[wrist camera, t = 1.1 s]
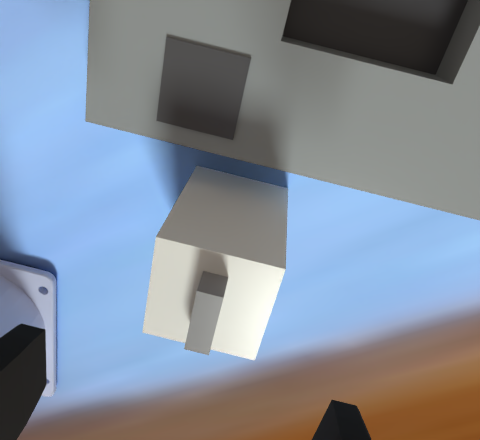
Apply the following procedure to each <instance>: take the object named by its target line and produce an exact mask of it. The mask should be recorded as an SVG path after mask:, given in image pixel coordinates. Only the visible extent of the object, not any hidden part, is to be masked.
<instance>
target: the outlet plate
mask: <svg viewBox="0 0 480 440" xmlns="http://www.w3.org/2000/svg"><path fill="white" fill-rule="evenodd" d="M86 121H87V122H91V123H95V124H98V125H102V126H106V127H110V128H114V129H118V130H122V131H126V132H130V133H134V134H138V135H142V136H146V137H150V138H154V139H158V140H162V141H166V142H170V143H174V144H178V145H182V146H186V147H190V148H194V149H198V150H202V151H206V152H210V153H214V154H218V155H222V156H226V157H230V158H234V159H238V160H242V161H246V162H250V163H254V164H258V165H262V166H266V167H270V168H274V169H278V170H282V171H286V172H290V173H293V174H297V175H301V176H305V177H309V178H313V179H317V180H321V181H325V182H329V183H333V184H337V185H341V186H345V187H349V188H353V189H357V190H361V191H365V192H369V193H373V194H377V195H381V196H385V197H389V198H393V199H397V200H401V201H405V202H409V203H413V204H417V205H421V206H425V207H429V208H433V209H437V210H441V211H445V212H449V213H453V214H457V215H461V216H465V217H469V218H473V219H477V220H480V0H90V7H89V36H88V64H87V93H86Z"/></svg>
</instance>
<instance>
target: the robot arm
mask: <svg viewBox="0 0 480 440" xmlns="http://www.w3.org/2000/svg"><path fill="white" fill-rule="evenodd" d="M44 287H45V288H47V289H48V290H47V289H45V288H44ZM55 391H56V278H55V277H54V275H53V274H51V273H50V272H47V271H44V270H40V269H36V268H32V267H28V266H24V265H20V264H16V263H12V262H8V261H4V260H0V440H17V438H18V437H19V435H20V433H21V432H22V430H23V429H24V427H25V426H26V424H27V422H28V420H29V418H30V416H31V414H32V412H33V411H34V409H35V407H36V405H37V403H38V401H39V399H40V397H41V396H45V397H50V396H52V395H53V394H54V393H55ZM312 440H371V437H370V435H369V433H368V430H367V428H366V426H365V423H364V421H363V419H362V416H361V414H360V412H359V409H358V408H357V406H355V405H351V404H347V403H343V402H339V401H335V400H332V401H331V403H330V405H329V407H328V409H327V411H326V413H325V415H324V417H323V419H322V421H321V423H320V425H319V427H318V429H317V431H316V433H315V435H314V437H313V439H312Z"/></svg>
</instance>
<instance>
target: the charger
mask: <svg viewBox="0 0 480 440" xmlns="http://www.w3.org/2000/svg"><path fill="white" fill-rule="evenodd" d="M287 205H288V188H285V187H281V186H277V185H273V184H269V183H265V182H261V181H257V180H253V179H249V178H245V177H241V176H237V175H233V174H229V173H225V172H221V171H217V170H213V169H209V168H205V167H201V166H196V168H195V170H194V171H193V173H192V175H191V177H190V178H189V180H188V182H187V184H186V185H185V187H184V189H183V191H182V192H181V194H180V196H179V198H178V199H177V201H176V203H175V205H174V206H173V208H172V210H171V212H170V213H169V215H168V217H167V219H166V220H165V222H164V224H163V226H162V227H161V229H160V231H159V232H158V234H157V236H156V240H155V248H154V255H153V262H152V269H151V276H150V283H149V290H148V297H147V304H146V311H145V319H144V326H143V333H147V334H151V335H155V336H159V337H163V338H167V339H171V340H175V341H179V342H183V343H185V348H184V349H186V350H190V351H194V352H198V353H202V354H206V355H209V352H210V349H211V350H215V351H219V352H223V353H227V354H231V355H235V356H239V357H243V358H247V359H251V360H255V358H256V355H257V352H258V349H259V346H260V343H261V340H262V337H263V334H264V331H265V328H266V325H267V322H268V319H269V316H270V314H271V311H272V308H273V305H274V302H275V299H276V296H277V293H278V290H279V287H280V284H281V281H282V278H283V275H284V272H285V269H286V238H287Z"/></svg>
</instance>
